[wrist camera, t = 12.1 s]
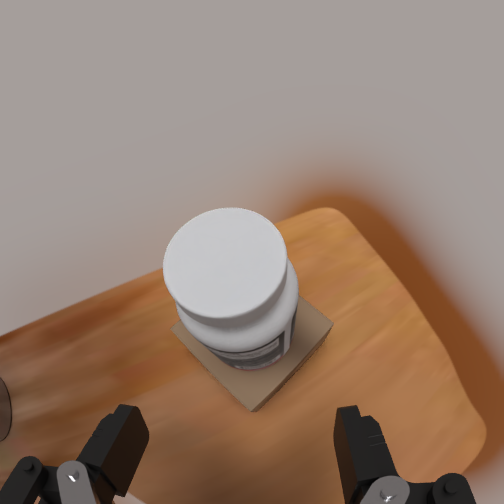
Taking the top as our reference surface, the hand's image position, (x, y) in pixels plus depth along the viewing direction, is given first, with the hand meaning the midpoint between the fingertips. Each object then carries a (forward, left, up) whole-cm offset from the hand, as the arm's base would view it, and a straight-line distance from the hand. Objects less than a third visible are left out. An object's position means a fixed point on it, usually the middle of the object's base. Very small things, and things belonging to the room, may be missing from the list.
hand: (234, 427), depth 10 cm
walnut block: (+4, +4, -12) cm, 14 cm away
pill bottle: (+4, +4, -7) cm, 9 cm away
